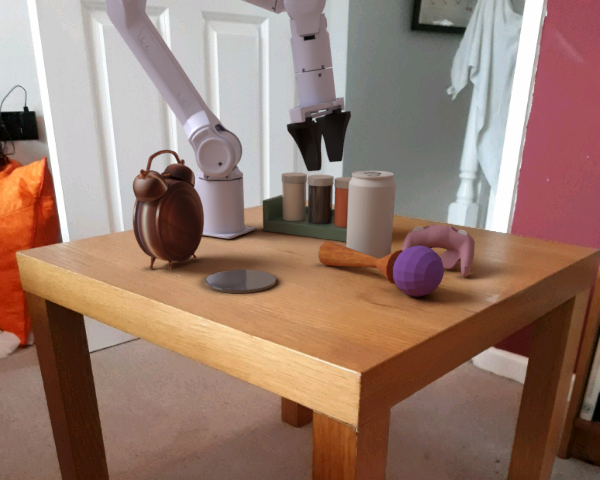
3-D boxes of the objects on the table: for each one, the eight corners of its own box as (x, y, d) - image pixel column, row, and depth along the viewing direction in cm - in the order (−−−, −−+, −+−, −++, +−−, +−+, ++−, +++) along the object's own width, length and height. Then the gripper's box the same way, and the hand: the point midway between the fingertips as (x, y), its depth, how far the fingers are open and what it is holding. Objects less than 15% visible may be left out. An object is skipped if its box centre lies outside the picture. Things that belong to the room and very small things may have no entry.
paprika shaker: (328, 226, 103) (330, 179, 99) (340, 221, 106) (341, 176, 103) (352, 228, 101) (354, 181, 98) (363, 223, 104) (365, 178, 101)
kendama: (346, 232, 89) (458, 250, 74) (341, 274, 91) (449, 300, 76) (313, 229, 86) (424, 247, 71) (308, 274, 87) (415, 301, 73)
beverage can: (389, 255, 94) (395, 169, 88) (390, 267, 88) (397, 176, 82) (346, 253, 94) (349, 168, 89) (345, 265, 89) (348, 175, 83)
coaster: (191, 286, 80) (191, 283, 80) (231, 268, 87) (231, 266, 87) (251, 297, 76) (251, 294, 76) (288, 278, 83) (288, 275, 83)
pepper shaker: (302, 222, 105) (303, 177, 101) (314, 218, 108) (315, 173, 105) (325, 225, 103) (326, 179, 100) (336, 220, 106) (338, 175, 103)
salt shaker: (277, 219, 107) (276, 174, 104) (289, 215, 110) (289, 171, 107) (298, 222, 105) (299, 176, 102) (310, 217, 108) (311, 173, 105)
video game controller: (471, 282, 87) (479, 231, 87) (469, 276, 82) (478, 222, 82) (399, 275, 90) (407, 226, 89) (395, 268, 85) (403, 217, 85)
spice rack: (263, 230, 107) (262, 200, 105) (289, 220, 114) (289, 192, 112) (360, 243, 100) (361, 211, 98) (381, 232, 107) (383, 201, 105)
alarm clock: (182, 253, 94) (173, 145, 87) (209, 257, 92) (202, 147, 85) (134, 272, 85) (120, 153, 78) (163, 277, 83) (151, 155, 76)
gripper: (314, 70, 87) (327, 173, 93) (357, 63, 98) (366, 155, 104) (271, 77, 91) (286, 176, 97) (317, 70, 101) (328, 159, 108)
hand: (325, 166), depth 101 cm, fingers open, 7 cm apart
